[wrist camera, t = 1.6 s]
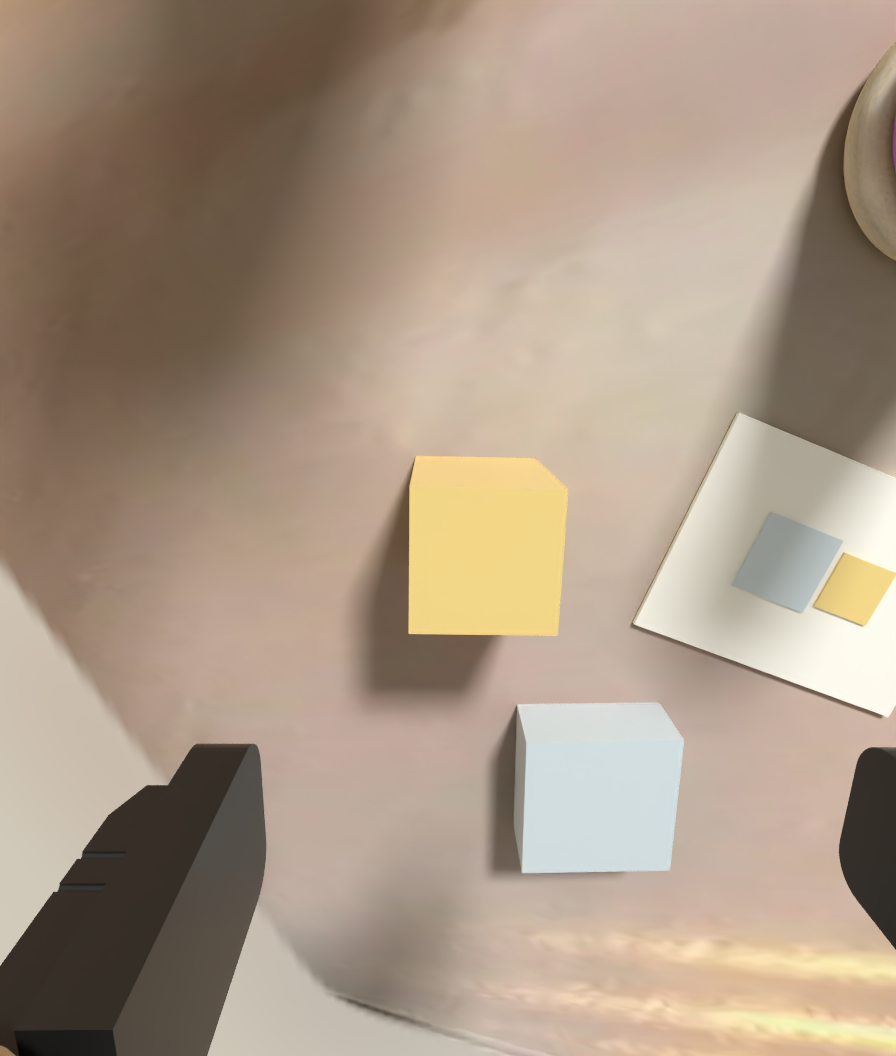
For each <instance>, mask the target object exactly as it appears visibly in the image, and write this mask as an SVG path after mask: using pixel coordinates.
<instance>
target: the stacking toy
mask: <svg viewBox="0 0 896 1056" xmlns="http://www.w3.org/2000/svg"><path fill="white" fill-rule="evenodd" d="M844 180H845V188H846V192H847V196H848V201H849V204H850V207H851V210H852V212H853V214H854V217H855V219H856V221H857V223H858V224H859V226H860V228H861V229H862V231H863V232H864V234H865V235H866V236H867V238H868V239H869V240H870V242H871V243H872V244H873V245H874V246H875V247H876V248H878V249H879V250H880V251H881V252H883V253H884V254H885V255H887V256H888V257H890V258H892V259H893V260H895V261H896V42H895V43H894V44H893V45H892V46H891V47H890V49H889V50H888V51H887V52H886V54H885V55H884V56H883V57H882V59H881V60H880V61H879V63H878V64H877V65H876V67H875V68H874V70H873V72H872V73H871V75H870V76H869V78H868V80H867V82H866V83H865V85H864V87H863V89H862V91H861V93H860V95H859V97H858V99H857V102H856V104H855V107H854V110H853V112H852V116H851V119H850V122H849V126H848V130H847V135H846V140H845V148H844Z"/></svg>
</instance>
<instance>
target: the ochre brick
mask: <svg viewBox="0 0 896 1056" xmlns="http://www.w3.org/2000/svg"><path fill="white" fill-rule="evenodd" d="M567 502H568V489H567V488H566V487H565V486H564V485H563V484H562V483H561V482H560V481H559V480H558V479H557V478H556V477H555V476H554V475H553V474H552V473H550V472H549V471H548V470H547V469H546V468H545V467H544V466H543V465H542V464H541V463H540V462H539V461H538V460H537V459H536V458H498V457H444V456H416V457H415V462H414V467H413V472H412V477H411V482H410V487H409V634H453V635H540V636H558V625H559V611H560V598H561V584H562V570H563V556H564V543H565V529H566V515H567Z"/></svg>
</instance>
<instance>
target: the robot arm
mask: <svg viewBox="0 0 896 1056" xmlns="http://www.w3.org/2000/svg"><path fill="white" fill-rule="evenodd" d="M839 856H840V863H841V867H842V871H843V874H844V877H845V880H846V882H847V884H848V886H849V888H850V890H851V892H852V894H853V895H854V897H855V898H856V899H857V901H858V902H859V903H860V905H861V906H862V907H863V908H864V910H865V911H866V912H867V913H868V915H869V916H870V917H871V919H872V920H873V921H874V922H875V924H876V925H877V926H878V927H879V929H880V930H881V931H882V933H883V934H884V935H885V936H886V938H887V939H888V940H889V941H890V943H891V944H892V945H893V947H894V948H895V949H896V748H888V747H873V748H868V749H866V750H865V751H863V753H862V754H861V755H860V757H859V759H858V761H857V765H856V769H855V774H854V779H853V783H852V788H851V792H850V797H849V801H848V806H847V811H846V815H845V820H844V824H843V829H842V834H841V838H840V844H839ZM265 860H266V833H265V819H264V805H263V790H262V776H261V761H260V754H259V750H258V747H257V745H255V744H196V745H194V746H193V747H192V748H191V750H190V751H189V753H188V754H187V756H186V757H185V759H184V761H183V762H182V764H181V765H180V767H179V769H178V770H177V772H176V773H175V775H174V777H173V778H172V780H171V781H170V783H169V785H153V786H152V785H147V786H146V787H144V788H143V789H142V790H140V791H139V792H138V793H137V794H136V795H134V796H133V797H131V798H130V799H129V800H128V801H126V802H125V803H124V804H122V805H121V806H120V807H118V808H117V809H116V810H115V811H114V812H112V813H111V814H110V815H108V817H107V818H106V820H105V821H104V822H103V824H102V825H101V827H100V828H99V829H98V831H97V832H96V834H95V835H94V836H93V838H92V839H91V840H90V842H89V843H88V845H87V846H86V848H85V849H84V850H83V854H82V858H81V859H77V860H76V861H75V863H74V864H73V865H72V867H71V868H70V870H69V871H68V873H67V874H66V875H65V877H64V878H63V879H62V881H61V882H60V886H59V890H58V892H53V894H52V895H51V896H50V898H49V899H48V900H47V902H46V903H45V904H44V906H43V907H42V909H41V910H40V912H39V913H38V914H37V916H36V917H35V918H34V920H33V921H32V923H31V924H30V925H29V927H28V928H27V930H26V931H25V932H24V934H23V935H22V937H21V938H20V939H19V941H18V942H17V944H16V945H15V946H14V948H13V949H12V951H11V952H10V953H9V955H8V956H7V957H6V959H5V960H4V962H3V963H2V965H1V966H0V1056H207V1054H208V1051H209V1048H210V1045H211V1042H212V1039H213V1036H214V1033H215V1030H216V1026H217V1024H218V1020H219V1017H220V1014H221V1011H222V1008H223V1005H224V1002H225V999H226V996H227V993H228V990H229V987H230V983H231V981H232V978H233V975H234V972H235V969H236V965H237V963H238V959H239V956H240V953H241V950H242V947H243V944H244V941H245V938H246V935H247V932H248V929H249V926H250V923H251V920H252V917H253V913H254V911H255V908H256V905H257V901H258V898H259V895H260V891H261V887H262V882H263V876H264V869H265Z"/></svg>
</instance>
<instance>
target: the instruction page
mask: <svg viewBox="0 0 896 1056" xmlns="http://www.w3.org/2000/svg"><path fill="white" fill-rule="evenodd" d="M633 624H634V625H637V626H640V627H643V628H645V629H648V630H651V631H654V632H656V633H659V634H662V635H664V636H667V637H670V638H673V639H675V640H678V641H681V642H684V643H686V644H689V645H692V646H695V647H697V648H700V649H703V650H706V651H708V652H711V653H714V654H717V655H719V656H722V657H725V658H727V659H730V660H733V661H736V662H738V663H741V664H744V665H747V666H749V667H752V668H755V669H758V670H760V671H763V672H766V673H769V674H771V675H774V676H777V677H780V678H782V679H785V680H788V681H790V682H793V683H796V684H799V685H801V686H804V687H807V688H810V689H812V690H815V691H818V692H821V693H823V694H826V695H829V696H832V697H834V698H837V699H840V700H843V701H845V702H848V703H851V704H854V705H856V706H859V707H862V708H864V709H867V710H870V711H873V712H875V713H878V714H881V715H884V716H886V717H888V716H889V715H890V713H891V712H892V710H893V709H894V707H895V705H896V478H895V477H893V476H890V475H888V474H886V473H883V472H881V471H878V470H876V469H874V468H871V467H869V466H866V465H864V464H862V463H859V462H857V461H854V460H852V459H850V458H847V457H845V456H842V455H840V454H838V453H835V452H833V451H830V450H828V449H826V448H823V447H821V446H818V445H816V444H814V443H811V442H809V441H806V440H804V439H802V438H799V437H797V436H794V435H792V434H790V433H787V432H785V431H782V430H780V429H778V428H775V427H773V426H770V425H768V424H766V423H763V422H761V421H758V420H756V419H754V418H751V417H749V416H746V415H744V414H742V413H738V412H737V414H736V416H735V418H734V420H733V422H732V424H731V426H730V428H729V430H728V432H727V434H726V436H725V438H724V440H723V442H722V444H721V446H720V448H719V450H718V452H717V454H716V456H715V458H714V460H713V462H712V464H711V466H710V468H709V470H708V472H707V474H706V476H705V478H704V480H703V482H702V484H701V486H700V488H699V490H698V492H697V494H696V496H695V498H694V500H693V502H692V504H691V506H690V508H689V510H688V512H687V514H686V516H685V518H684V520H683V522H682V524H681V526H680V528H679V530H678V532H677V534H676V536H675V538H674V540H673V542H672V544H671V546H670V548H669V550H668V552H667V554H666V556H665V558H664V560H663V562H662V564H661V566H660V568H659V570H658V572H657V574H656V576H655V578H654V580H653V582H652V584H651V586H650V588H649V590H648V592H647V594H646V596H645V598H644V600H643V602H642V604H641V606H640V608H639V610H638V612H637V614H636V616H635V618H634V620H633Z"/></svg>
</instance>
